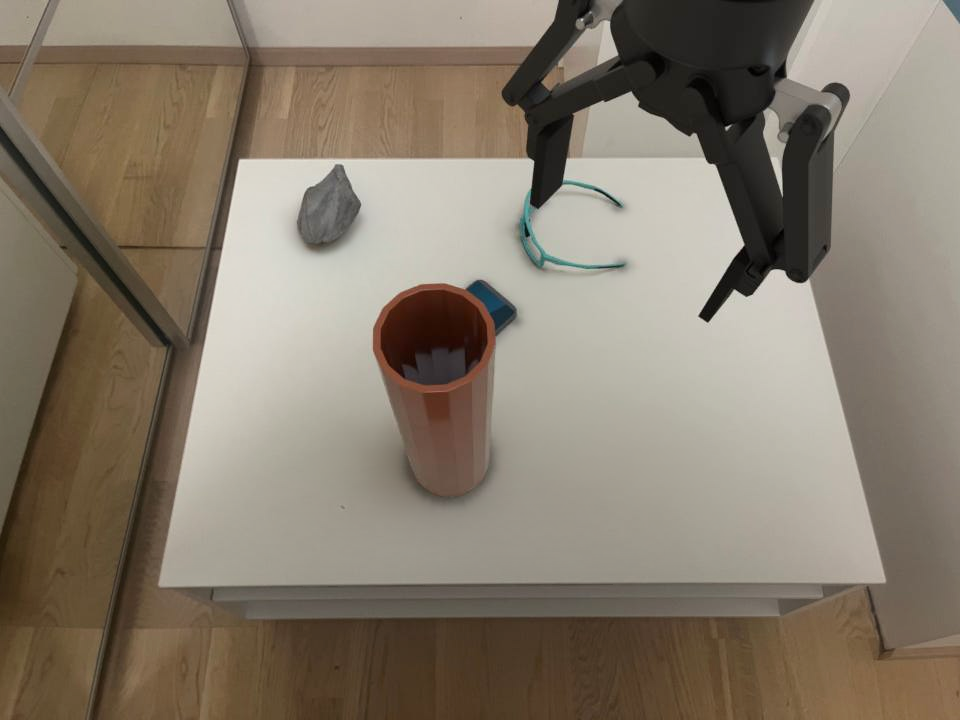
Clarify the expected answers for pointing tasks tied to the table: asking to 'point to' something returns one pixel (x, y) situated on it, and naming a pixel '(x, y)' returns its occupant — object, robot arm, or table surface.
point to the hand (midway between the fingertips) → (626, 248)
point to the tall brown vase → (439, 382)
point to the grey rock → (328, 208)
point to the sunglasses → (527, 232)
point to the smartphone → (494, 304)
